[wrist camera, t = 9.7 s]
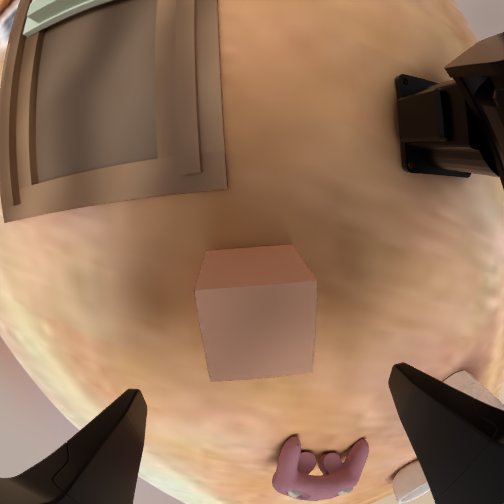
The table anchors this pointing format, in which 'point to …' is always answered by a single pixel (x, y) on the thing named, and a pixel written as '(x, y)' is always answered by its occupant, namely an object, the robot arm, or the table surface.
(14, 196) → the board
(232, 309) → the block
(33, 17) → the lid
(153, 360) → the table surface
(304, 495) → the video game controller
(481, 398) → the white cup
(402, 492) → the teacup
